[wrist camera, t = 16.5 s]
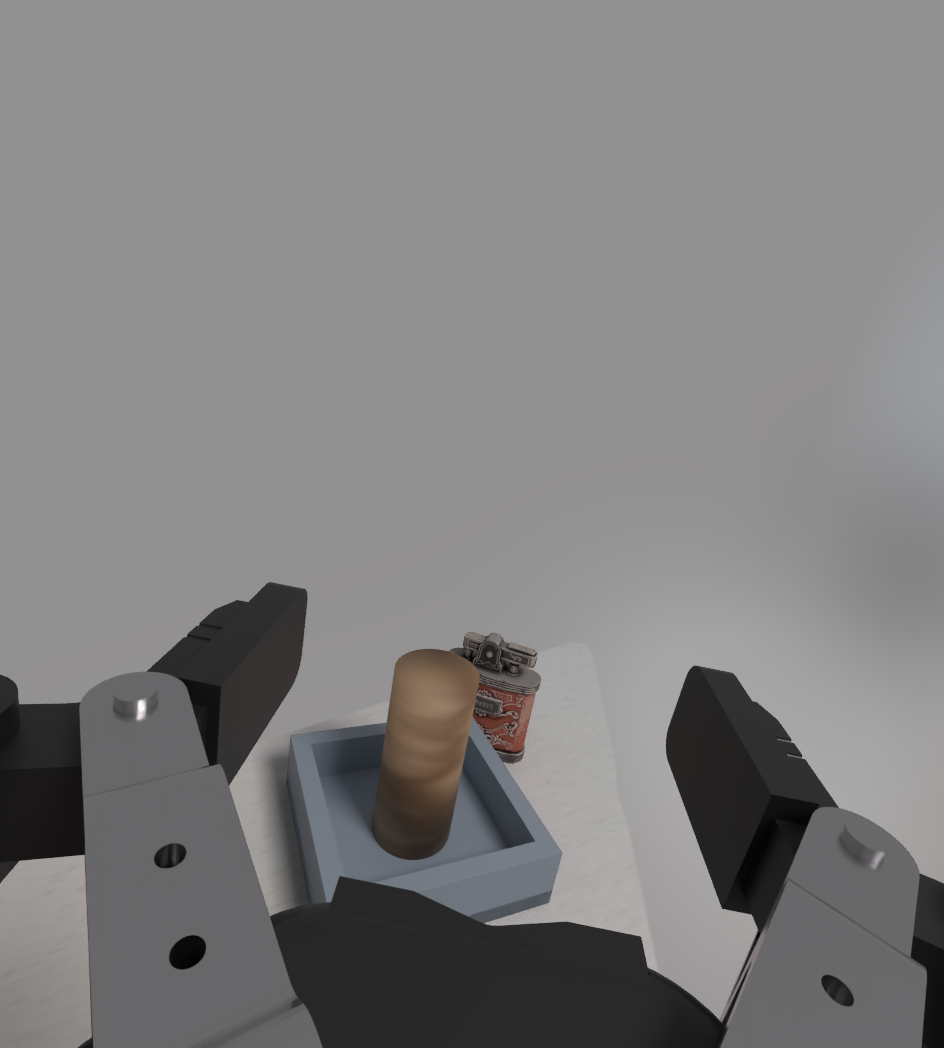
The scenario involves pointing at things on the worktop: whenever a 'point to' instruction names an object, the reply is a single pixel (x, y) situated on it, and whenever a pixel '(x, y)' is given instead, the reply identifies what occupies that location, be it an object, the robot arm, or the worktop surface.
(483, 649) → the lighter
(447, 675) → the canister
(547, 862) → the tray
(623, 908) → the worktop surface
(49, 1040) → the worktop surface
